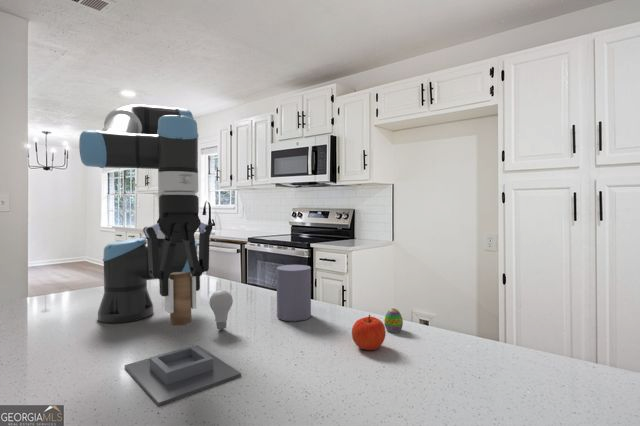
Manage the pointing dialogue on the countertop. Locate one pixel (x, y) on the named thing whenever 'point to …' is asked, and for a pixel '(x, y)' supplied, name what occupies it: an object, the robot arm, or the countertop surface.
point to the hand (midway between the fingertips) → (180, 309)
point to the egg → (393, 320)
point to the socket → (180, 373)
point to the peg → (181, 298)
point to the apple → (368, 333)
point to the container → (293, 292)
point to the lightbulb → (221, 307)
